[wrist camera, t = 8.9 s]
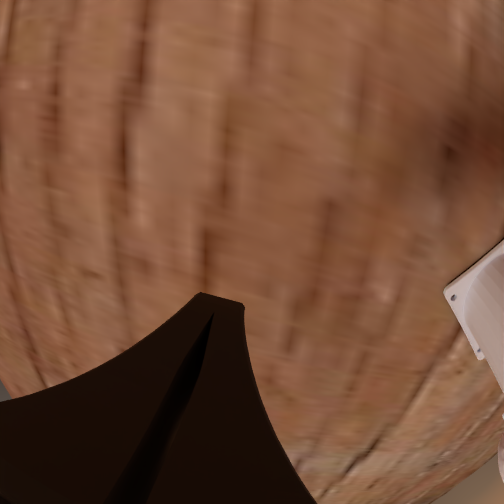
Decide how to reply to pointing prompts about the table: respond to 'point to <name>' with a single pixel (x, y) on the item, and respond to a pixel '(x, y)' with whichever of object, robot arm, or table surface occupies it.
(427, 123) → the table surface
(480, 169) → the table surface
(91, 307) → the table surface
